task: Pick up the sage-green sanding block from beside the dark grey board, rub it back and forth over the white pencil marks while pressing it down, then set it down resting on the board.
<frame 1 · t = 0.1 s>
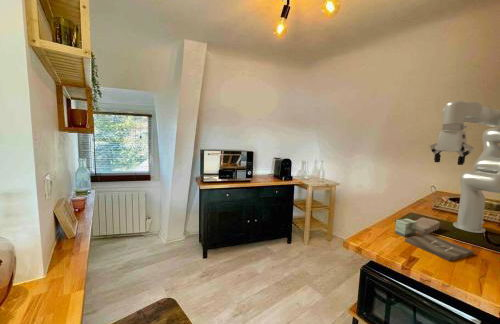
hand: (448, 163, 109), 37 cm above the worktop, tool pointing down, fingers open, 9 cm apart
board: (437, 247, 100), on the worktop
sanding block: (405, 234, 114), on the worktop
brick: (423, 230, 120), on the worktop
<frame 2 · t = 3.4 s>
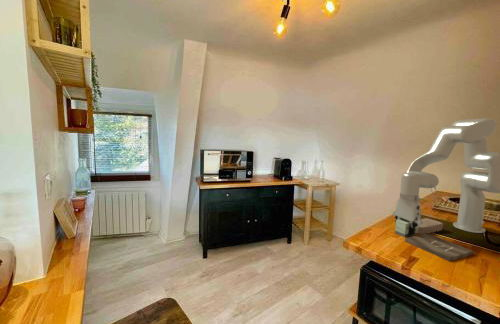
hand: (405, 231, 114), 1 cm above the worktop, tool pointing down, fingers closed on sanding block, 5 cm apart
sanding block: (405, 234, 114), on the worktop, touching gripper
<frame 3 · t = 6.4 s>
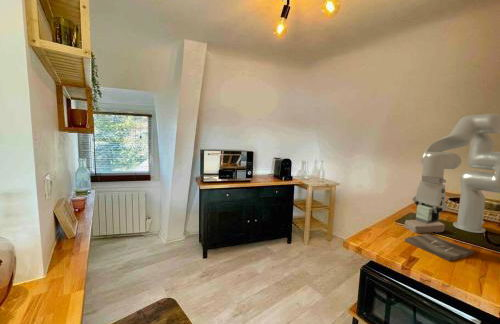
hand: (427, 218, 104), 12 cm above the worktop, tool pointing down, fingers closed on sanding block, 5 cm apart
sanding block: (427, 220, 104), point 11 cm above the worktop, touching gripper
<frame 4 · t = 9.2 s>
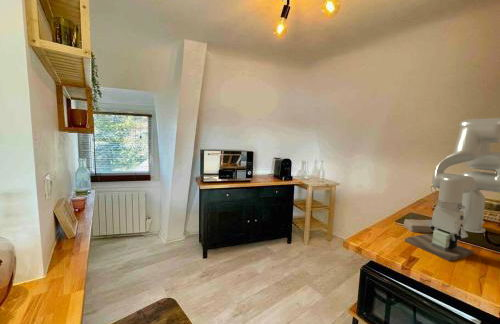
hand: (444, 244, 98), 3 cm above the worktop, tool pointing down, fingers closed on sanding block, 5 cm apart
sanding block: (444, 246, 98), point 2 cm above the worktop, touching gripper
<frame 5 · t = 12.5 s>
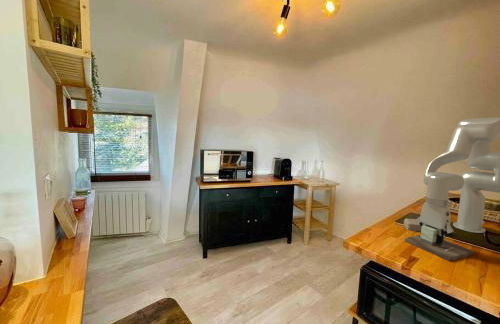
hand: (432, 239, 102), 2 cm above the worktop, tool pointing down, fingers closed on sanding block, 5 cm apart
sanding block: (431, 241, 102), point 2 cm above the worktop, touching gripper
when the fingers open (4 cm above the worktop, at t = 15.4 s): sanding block drops 1 cm, resting on board.
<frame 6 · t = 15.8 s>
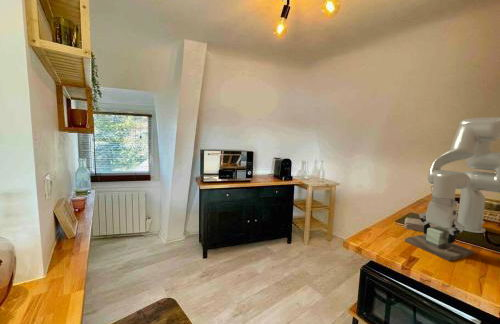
hand: (438, 237, 100), 5 cm above the worktop, tool pointing down, fingers open, 9 cm apart
sanding block: (437, 244, 100), point 2 cm above the worktop, touching board
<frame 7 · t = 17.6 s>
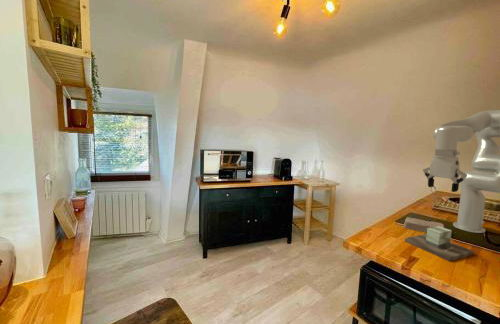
hand: (442, 189, 106), 25 cm above the worktop, tool pointing down, fingers open, 9 cm apart
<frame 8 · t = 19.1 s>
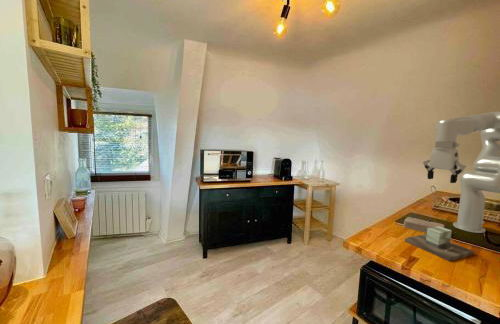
hand: (441, 180, 109), 28 cm above the worktop, tool pointing down, fingers open, 9 cm apart
at the end: sanding block inside the target area (0.1 cm from its centre), point 1.5 cm above the worktop; sanding block tilted 0°; the gripper is holding nothing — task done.
